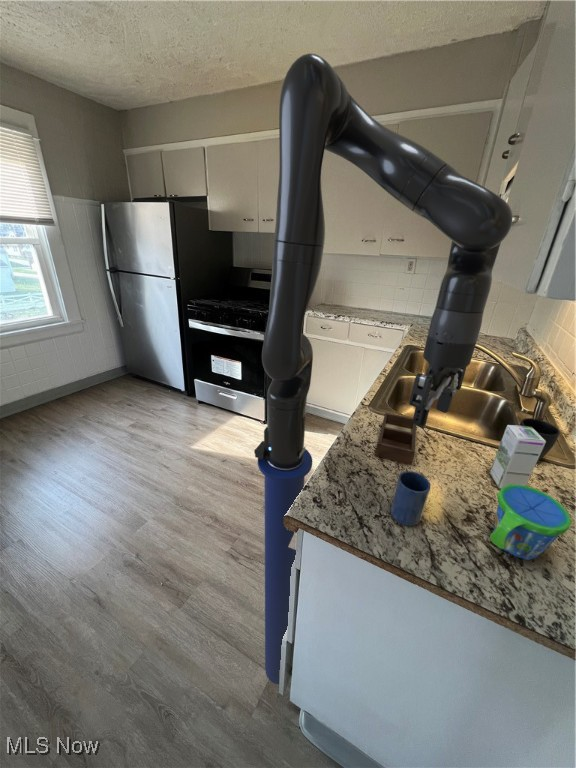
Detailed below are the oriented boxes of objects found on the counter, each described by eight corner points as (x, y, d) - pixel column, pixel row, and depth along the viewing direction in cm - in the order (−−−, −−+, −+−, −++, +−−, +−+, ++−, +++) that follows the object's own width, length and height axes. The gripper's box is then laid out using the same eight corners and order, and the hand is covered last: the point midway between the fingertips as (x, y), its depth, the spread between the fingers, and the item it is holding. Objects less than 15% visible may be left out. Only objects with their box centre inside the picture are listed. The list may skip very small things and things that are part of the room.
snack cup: (510, 582, 53) (532, 541, 49) (461, 531, 62) (476, 493, 58) (571, 556, 58) (596, 516, 54) (517, 512, 67) (535, 476, 63)
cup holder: (375, 456, 83) (377, 443, 82) (382, 423, 98) (385, 412, 96) (411, 465, 80) (414, 452, 79) (413, 430, 95) (416, 418, 93)
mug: (489, 443, 90) (500, 415, 86) (534, 448, 89) (547, 419, 85) (503, 462, 83) (515, 432, 79) (552, 467, 81) (567, 437, 77)
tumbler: (389, 520, 64) (397, 487, 61) (392, 499, 70) (399, 468, 66) (420, 530, 63) (430, 496, 59) (420, 508, 68) (430, 476, 64)
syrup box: (524, 492, 73) (548, 441, 67) (497, 488, 74) (518, 437, 67) (512, 475, 78) (534, 426, 72) (487, 472, 79) (506, 423, 72)
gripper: (450, 324, 59) (431, 399, 66) (408, 336, 51) (391, 420, 58) (493, 334, 54) (467, 414, 61) (454, 349, 46) (429, 440, 53)
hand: (430, 417), depth 60 cm, fingers open, 8 cm apart
